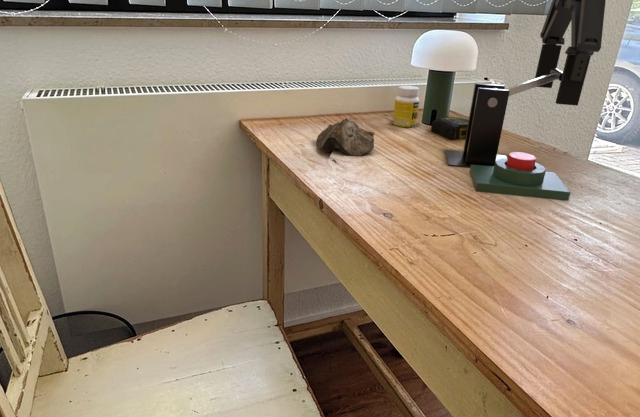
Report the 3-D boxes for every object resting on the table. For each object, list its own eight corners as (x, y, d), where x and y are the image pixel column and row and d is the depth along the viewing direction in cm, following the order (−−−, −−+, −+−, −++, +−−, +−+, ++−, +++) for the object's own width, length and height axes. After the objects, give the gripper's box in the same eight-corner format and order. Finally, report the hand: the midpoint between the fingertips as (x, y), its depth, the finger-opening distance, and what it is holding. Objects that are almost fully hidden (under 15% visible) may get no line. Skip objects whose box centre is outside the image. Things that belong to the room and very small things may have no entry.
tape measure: (428, 135, 96) (430, 116, 94) (457, 133, 98) (460, 115, 97) (448, 145, 90) (451, 125, 88) (479, 143, 92) (482, 123, 91)
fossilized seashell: (386, 142, 81) (344, 137, 89) (371, 109, 77) (328, 108, 85) (360, 172, 78) (319, 165, 86) (343, 140, 75) (301, 136, 82)
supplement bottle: (413, 133, 96) (419, 90, 93) (389, 130, 98) (394, 87, 94) (417, 128, 101) (422, 86, 97) (394, 125, 102) (399, 84, 98)
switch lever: (559, 78, 75) (556, 63, 74) (569, 83, 70) (565, 67, 69) (480, 105, 78) (476, 91, 77) (484, 112, 74) (480, 97, 73)
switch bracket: (504, 162, 82) (520, 84, 77) (513, 178, 75) (532, 94, 70) (443, 156, 84) (455, 80, 79) (447, 171, 77) (460, 88, 71)
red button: (530, 165, 70) (532, 153, 69) (536, 173, 67) (539, 161, 66) (504, 162, 70) (506, 150, 70) (508, 170, 67) (511, 158, 66)
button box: (551, 186, 73) (557, 160, 71) (566, 207, 66) (574, 179, 64) (468, 178, 74) (472, 152, 73) (474, 197, 67) (479, 170, 66)
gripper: (540, -60, 76) (511, 79, 85) (594, -82, 54) (548, 110, 63) (591, -58, 75) (557, 83, 84) (668, -79, 53) (610, 116, 62)
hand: (553, 95), depth 73 cm, fingers open, 13 cm apart
